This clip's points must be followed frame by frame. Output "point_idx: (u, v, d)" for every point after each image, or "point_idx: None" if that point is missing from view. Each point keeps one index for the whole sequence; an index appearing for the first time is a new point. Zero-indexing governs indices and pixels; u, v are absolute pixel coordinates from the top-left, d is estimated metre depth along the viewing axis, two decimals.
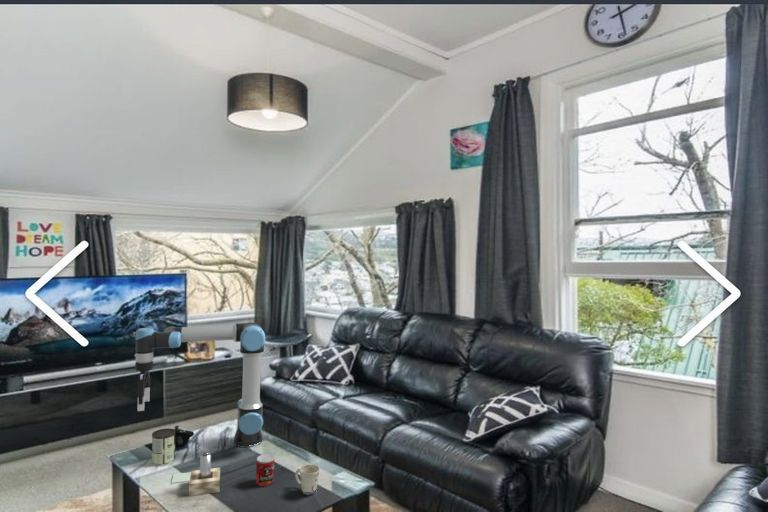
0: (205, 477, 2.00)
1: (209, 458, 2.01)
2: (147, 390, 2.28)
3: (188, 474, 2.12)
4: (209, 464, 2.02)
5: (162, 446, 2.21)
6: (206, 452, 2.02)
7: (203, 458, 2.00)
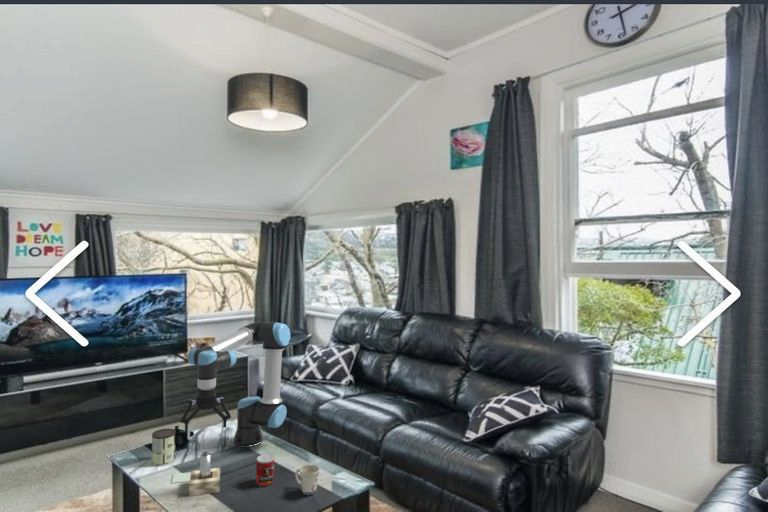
0: (205, 477, 2.00)
1: (209, 458, 2.01)
2: None
3: (188, 474, 2.12)
4: (209, 464, 2.02)
5: (162, 446, 2.21)
6: (206, 452, 2.02)
7: (203, 458, 2.00)
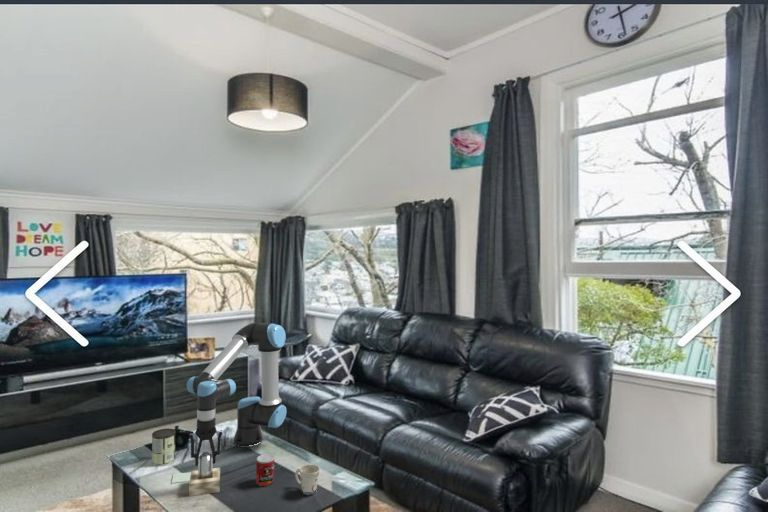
0: (205, 477, 2.00)
1: (209, 458, 2.01)
2: None
3: (188, 474, 2.12)
4: (209, 464, 2.02)
5: (162, 446, 2.21)
6: (206, 452, 2.02)
7: (203, 458, 2.00)
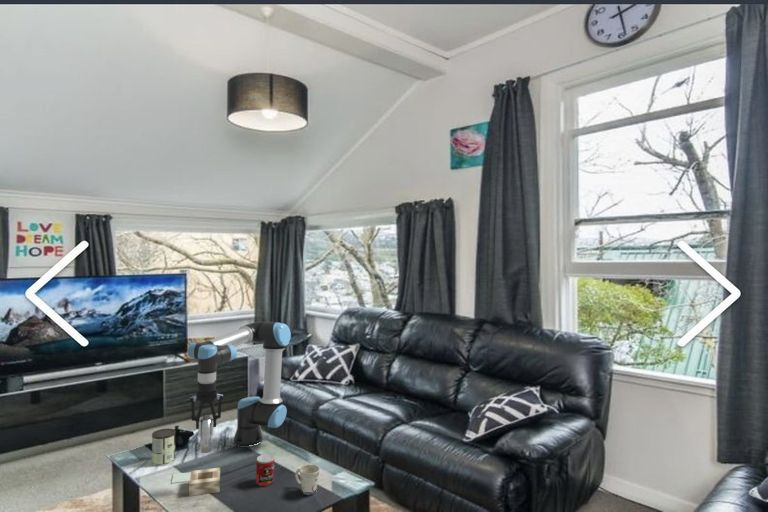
0: (206, 440, 2.00)
1: (210, 422, 2.01)
2: None
3: (188, 474, 2.12)
4: (210, 428, 2.01)
5: (162, 446, 2.21)
6: (207, 416, 2.02)
7: (204, 421, 2.00)
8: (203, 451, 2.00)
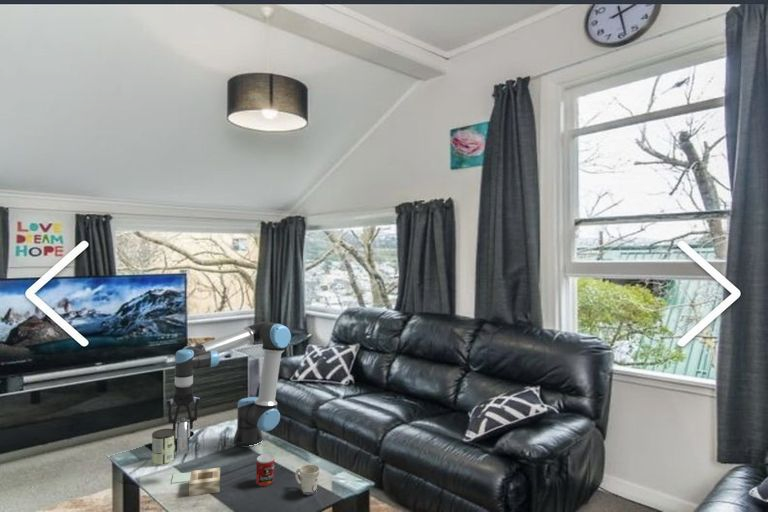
0: (182, 442, 2.07)
1: (186, 424, 2.08)
2: (188, 424, 2.09)
3: (188, 474, 2.12)
4: (186, 430, 2.08)
5: (162, 446, 2.21)
6: (183, 418, 2.09)
7: (180, 424, 2.07)
8: (179, 452, 2.07)
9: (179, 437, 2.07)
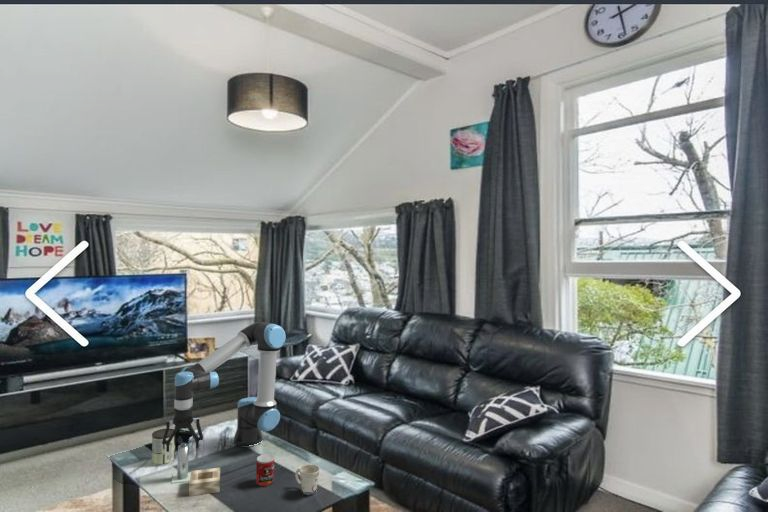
0: (183, 467, 2.08)
1: (186, 450, 2.08)
2: (194, 444, 2.10)
3: (188, 474, 2.12)
4: (187, 455, 2.09)
5: (162, 446, 2.21)
6: (184, 443, 2.10)
7: (181, 449, 2.07)
8: (180, 477, 2.07)
9: (179, 462, 2.07)
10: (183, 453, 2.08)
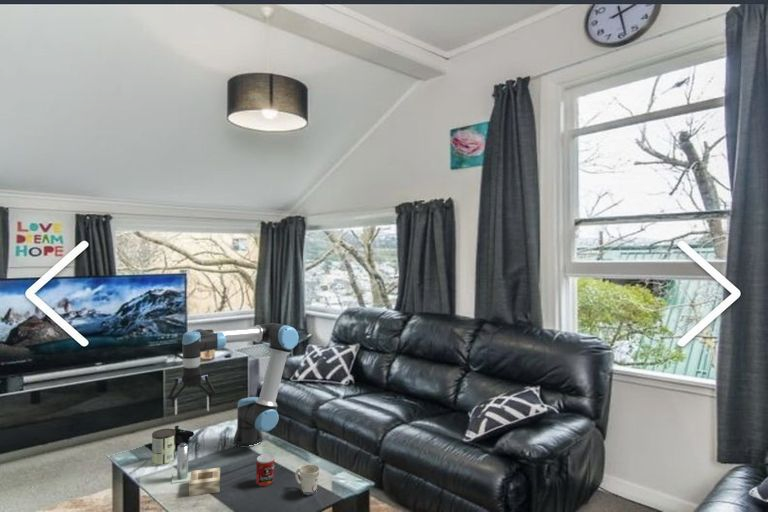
0: (182, 467, 2.08)
1: (186, 449, 2.09)
2: (207, 399, 2.16)
3: (188, 474, 2.12)
4: (186, 455, 2.09)
5: (162, 446, 2.21)
6: (183, 443, 2.10)
7: (180, 449, 2.07)
8: (180, 477, 2.07)
9: (179, 462, 2.08)
10: (183, 453, 2.08)
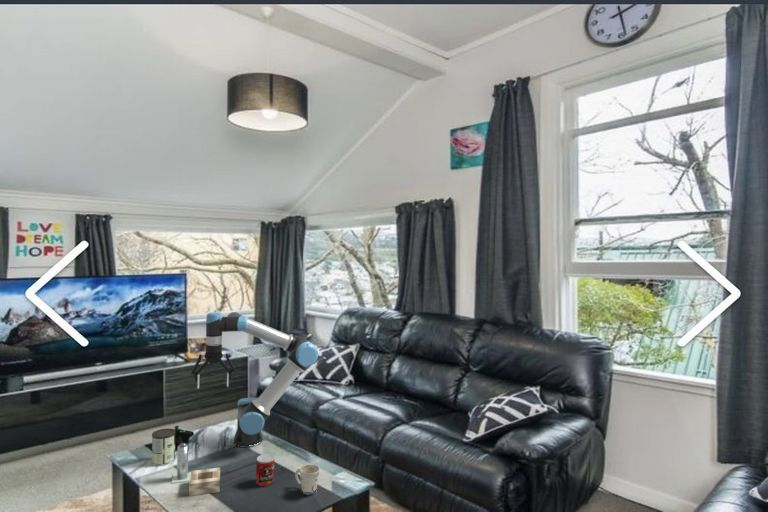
0: (182, 467, 2.08)
1: (186, 450, 2.08)
2: (227, 375, 2.32)
3: (188, 474, 2.12)
4: (186, 455, 2.09)
5: (162, 446, 2.21)
6: (183, 444, 2.09)
7: (180, 449, 2.07)
8: (180, 478, 2.07)
9: (179, 462, 2.07)
10: (182, 453, 2.07)
